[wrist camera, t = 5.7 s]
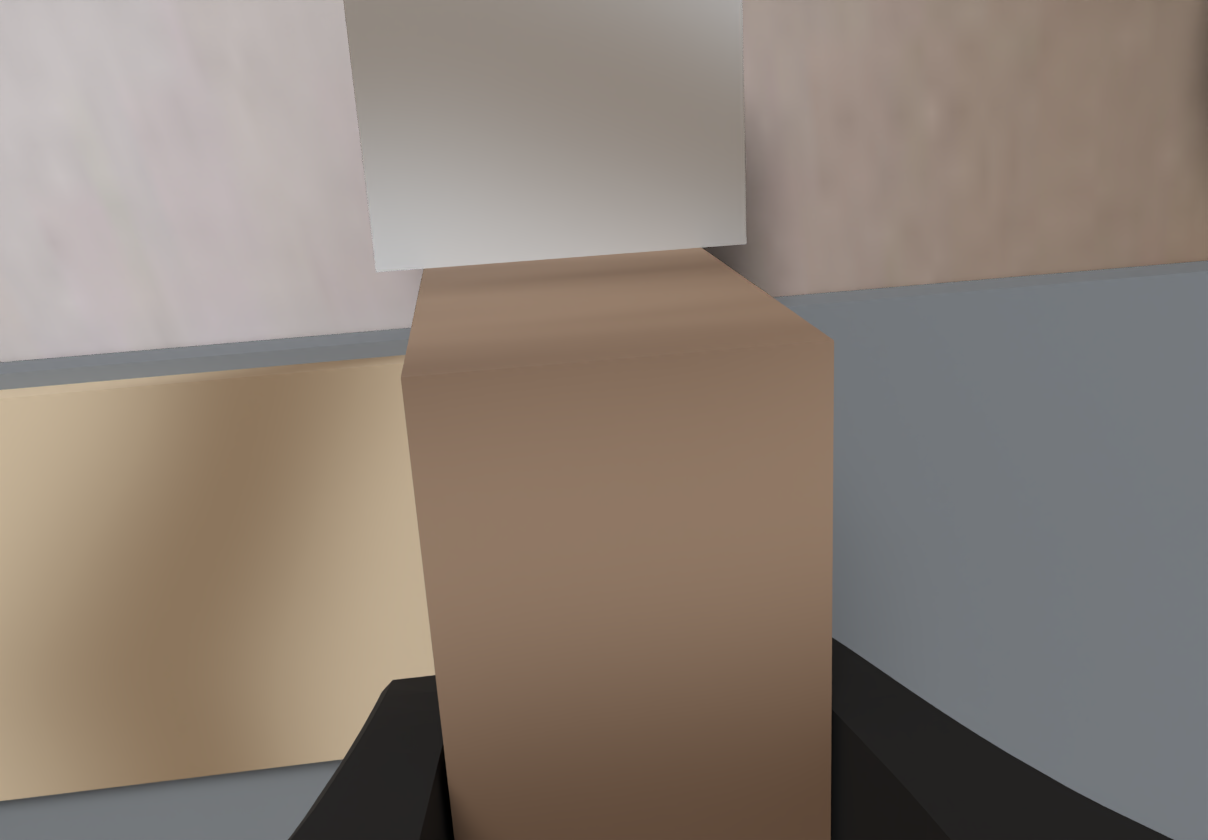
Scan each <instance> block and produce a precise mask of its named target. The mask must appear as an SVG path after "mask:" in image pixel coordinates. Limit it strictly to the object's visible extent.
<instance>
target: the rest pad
mask: <svg viewBox="0 0 1208 840" xmlns="http://www.w3.org/2000/svg"><path fill="white" fill-rule="evenodd" d="M404 359H405V355H398V356H387V357H375V358H364V359H352V360H341V361H329V362H317V363H306V364H294V365H283V366H271V367H260V368H248V369H237V370H225V371H214V372H202V373H191V374H179V375H167V376H156V377H144V378H133V379H121V380H110V381H98V382H87V383H75V384H64V385H52V386H41V387H29V388H17V389H6V390H0V801H5V800H14V799H22V798H30V797H38V796H46V795H54V794H63V793H71V792H79V791H87V790H95V789H104V788H112V787H120V786H128V785H136V784H145V783H153V782H161V781H169V780H177V779H185V778H194V777H202V776H210V775H218V774H226V773H235V772H243V771H251V770H259V769H267V768H276V767H284V766H292V765H300V764H308V763H316V762H325V761H333V760H341V759H344V757H345V755H346V754H347V752H348V750H349V749H350V747H351V746H352V744H353V742H354V741H355V739H356V737H357V736H358V734H359V732H360V731H361V729H362V727H363V725H364V724H365V722H366V720H367V718H368V717H369V715H370V713H371V711H372V709H373V708H374V706H375V704H376V702H377V700H378V698H379V696H380V694H381V692H382V691H383V690H384V689H385V688H386V687H387V685H388V684H389V683H390V682H391V681H392V680H396V679H405V678H414V677H423V676H432V675H435V668H434V659H433V651H432V642H431V633H430V625H429V616H428V608H427V599H426V590H425V582H424V573H423V565H422V556H421V548H420V539H419V530H418V522H417V513H416V505H415V496H414V488H413V479H412V470H411V462H410V453H409V445H408V436H407V428H406V419H405V410H404V402H403V393H402V385H401V373H402V369H403V364H404Z"/></svg>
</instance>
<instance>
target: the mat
mask: <svg viewBox="0 0 1208 840" xmlns="http://www.w3.org/2000/svg"><path fill="white" fill-rule="evenodd" d="M773 298H774V299H776V300H777V301H779V302H780V303H781V304H783V305H784V306H786V307H787V308H789V309H790V310H791V311H793V312H794V313H796V314H797V315H799V316H800V317H801V318H803V319H804V320H806V321H807V322H809V323H810V324H811V325H813V326H814V327H816V328H817V329H819V330H820V331H821V332H823V333H824V334H826V335H827V336H829V337H830V338H831V339H833V340H834V427H833V571H832V638H834V639H836V640H837V641H839V642H840V643H842V644H843V645H845V646H846V647H848V648H849V649H851V650H852V651H854V652H855V653H857V654H858V655H860V656H861V657H863V658H864V659H865V660H867V661H868V662H870V663H871V664H873V665H874V666H876V667H877V668H878V669H880V670H881V671H883V672H884V673H886V674H887V675H889V676H890V677H892V678H893V679H894V680H896V681H897V682H899V683H900V684H902V685H903V686H905V687H906V688H908V689H909V690H911V691H912V692H913V693H915V694H916V695H918V696H919V697H921V698H922V699H924V700H925V701H927V702H928V703H930V704H931V705H933V706H934V707H936V708H937V709H939V710H940V711H942V712H944V713H945V714H947V715H948V716H950V717H951V718H953V719H954V720H956V721H957V722H959V723H960V724H962V725H964V726H965V727H967V728H968V729H970V730H971V731H973V732H975V733H976V734H978V735H979V736H981V737H983V738H984V739H986V740H988V741H989V742H991V743H992V744H994V745H996V746H997V747H999V748H1001V749H1002V750H1004V751H1006V752H1007V753H1009V754H1011V755H1012V756H1014V757H1016V758H1018V759H1019V760H1021V761H1023V762H1025V763H1026V764H1028V765H1030V766H1032V767H1033V768H1035V769H1037V770H1039V771H1040V772H1042V773H1044V774H1046V775H1047V776H1049V777H1051V778H1053V779H1054V780H1056V781H1058V782H1060V783H1061V784H1063V785H1065V786H1067V787H1068V788H1070V789H1072V790H1074V791H1076V792H1078V793H1080V794H1082V795H1084V796H1085V797H1087V798H1089V799H1091V800H1093V801H1095V802H1097V803H1099V804H1101V805H1103V806H1105V807H1107V808H1109V809H1111V810H1113V811H1115V812H1117V813H1119V814H1121V815H1123V816H1126V817H1128V818H1130V819H1132V820H1134V821H1136V822H1138V823H1140V824H1142V825H1144V826H1146V827H1148V828H1151V829H1153V830H1155V831H1157V832H1159V833H1161V834H1163V835H1165V836H1167V837H1169V838H1171V839H1174V840H1208V261H1198V262H1186V263H1175V264H1163V265H1151V266H1139V267H1127V268H1115V269H1103V270H1092V271H1080V272H1068V273H1056V274H1044V275H1032V276H1020V277H1008V278H997V279H985V280H973V281H961V282H949V283H937V284H925V285H914V286H902V287H890V288H878V289H866V290H854V291H842V292H830V293H819V294H807V295H795V296H783V297H773ZM410 331H411V328H403V329H391V330H380V331H368V332H356V333H344V334H332V335H320V336H308V337H297V338H285V339H273V340H261V341H249V342H237V343H225V344H213V345H202V346H190V347H178V348H166V349H154V350H142V351H130V352H119V353H107V354H95V355H83V356H71V357H59V358H47V359H35V360H24V361H12V362H0V390H6V389H17V388H29V387H41V386H52V385H64V384H75V383H87V382H98V381H110V380H121V379H133V378H144V377H156V376H167V375H179V374H191V373H202V372H214V371H225V370H237V369H248V368H260V367H271V366H283V365H294V364H306V363H317V362H329V361H341V360H352V359H364V358H375V357H387V356H398V355H406V350H407V345H408V340H409V336H410ZM342 760H343V759H341V760H333V761H325V762H316V763H308V764H300V765H292V766H284V767H276V768H267V769H259V770H251V771H243V772H235V773H226V774H218V775H210V776H202V777H194V778H185V779H177V780H169V781H161V782H153V783H145V784H136V785H128V786H120V787H112V788H104V789H95V790H87V791H79V792H71V793H63V794H54V795H46V796H38V797H30V798H22V799H14V800H5V801H0V840H288V839H289V838H290V836H291V835H292V834H293V832H294V831H295V830H296V828H297V827H298V826H299V824H300V823H301V821H302V820H303V819H304V817H305V816H306V814H307V813H308V811H309V810H310V808H311V807H312V805H313V804H314V802H315V801H316V799H317V798H318V796H319V795H320V793H321V792H322V790H323V789H324V787H325V786H326V784H327V783H328V782H329V780H330V779H331V777H332V776H333V774H334V773H335V771H336V770H337V768H338V767H339V765H340V763H341V762H342Z"/></svg>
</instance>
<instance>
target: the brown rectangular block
mask: <svg viewBox="0 0 1208 840" xmlns="http://www.w3.org/2000/svg"><path fill="white" fill-rule="evenodd" d="M343 1H344V10H345V18H346V26H347V35H348V43H349V51H350V60H351V68H352V76H353V85H354V93H355V101H356V110H357V118H358V126H359V135H360V143H361V151H362V160H363V168H364V176H365V185H366V193H367V201H368V210H369V218H370V226H371V235H372V243H373V251H374V260H375V268H376V272H386V271H399V270H413V269H424V270H423V274H422V279H421V284H420V289H419V293H418V298H417V303H416V307H415V312H414V317H413V322H412V326H411V331H410V336H409V340H408V345H407V350H406V355H405V359H404V364H403V369H402V373H401V385H402V393H403V402H404V410H405V419H406V428H407V436H408V445H409V453H410V462H411V470H412V479H413V488H414V496H415V505H416V513H417V522H418V530H419V539H420V548H421V556H422V565H423V573H424V582H425V590H426V599H427V608H428V616H429V625H430V633H431V642H432V651H433V659H434V668H435V676H436V685H437V693H438V702H439V711H440V719H441V728H442V736H443V745H444V753H445V762H446V771H447V779H448V788H449V796H450V805H451V814H452V822H453V831H454V839H455V840H831V715H832V571H833V427H834V340H833V339H831V338H830V337H829V336H827V335H826V334H824V333H823V332H821V331H820V330H819V329H817V328H816V327H814V326H813V325H811V324H810V323H809V322H807V321H806V320H804V319H803V318H801V317H800V316H799V315H797V314H796V313H794V312H793V311H791V310H790V309H789V308H787V307H786V306H784V305H783V304H781V303H780V302H779V301H777V300H776V299H774V298H773V297H771V296H770V295H769V294H767V293H766V292H764V291H763V290H761V289H760V288H759V287H757V286H756V285H754V284H753V283H751V282H750V281H749V280H747V279H746V278H744V277H743V276H741V275H740V274H739V273H737V272H736V271H734V270H733V269H731V268H730V267H729V266H727V265H726V264H724V263H723V262H721V261H720V260H719V259H717V258H716V257H714V256H713V255H711V254H710V253H709V252H707V251H706V250H704V249H703V248H702V247H715V246H729V245H742V244H747V243H746V185H745V127H744V70H743V12H742V0H343Z"/></svg>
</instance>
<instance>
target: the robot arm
mask: <svg viewBox="0 0 1208 840" xmlns="http://www.w3.org/2000/svg"><path fill="white" fill-rule="evenodd" d="M288 840H455V839H454V831H453V822H452V814H451V805H450V796H449V788H448V779H447V771H446V762H445V753H444V745H443V736H442V728H441V719H440V711H439V702H438V693H437V685H436V676H435V675H432V676H423V677H414V678H405V679H396V680H392V681H391V682H390V683H389V684H388V685H387V687H386V688H385V689H384V690H383V691H382V692H381V694H380V696H379V698H378V700H377V702H376V704H375V706H374V708H373V709H372V711H371V713H370V715H369V717H368V718H367V720H366V722H365V724H364V725H363V727H362V729H361V731H360V732H359V734H358V736H357V737H356V739H355V741H354V742H353V744H352V746H351V747H350V749H349V750H348V752H347V754H346V755H345V757H344V759H343V760H342V762H341V763H340V765H339V767H338V768H337V770H336V771H335V773H334V774H333V776H332V777H331V779H330V780H329V782H328V783H327V784H326V786H325V787H324V789H323V790H322V792H321V793H320V795H319V796H318V798H317V799H316V801H315V802H314V804H313V805H312V807H311V808H310V810H309V811H308V813H307V814H306V816H305V817H304V819H303V820H302V821H301V823H300V824H299V826H298V827H297V828H296V830H295V831H294V832H293V834H292V835H291V836H290V838H289V839H288ZM831 840H1174V839H1171V838H1169V837H1167V836H1165V835H1163V834H1161V833H1159V832H1157V831H1155V830H1153V829H1151V828H1148V827H1146V826H1144V825H1142V824H1140V823H1138V822H1136V821H1134V820H1132V819H1130V818H1128V817H1126V816H1123V815H1121V814H1119V813H1117V812H1115V811H1113V810H1111V809H1109V808H1107V807H1105V806H1103V805H1101V804H1099V803H1097V802H1095V801H1093V800H1091V799H1089V798H1087V797H1085V796H1084V795H1082V794H1080V793H1078V792H1076V791H1074V790H1072V789H1070V788H1068V787H1067V786H1065V785H1063V784H1061V783H1060V782H1058V781H1056V780H1054V779H1053V778H1051V777H1049V776H1047V775H1046V774H1044V773H1042V772H1040V771H1039V770H1037V769H1035V768H1033V767H1032V766H1030V765H1028V764H1026V763H1025V762H1023V761H1021V760H1019V759H1018V758H1016V757H1014V756H1012V755H1011V754H1009V753H1007V752H1006V751H1004V750H1002V749H1001V748H999V747H997V746H996V745H994V744H992V743H991V742H989V741H988V740H986V739H984V738H983V737H981V736H979V735H978V734H976V733H975V732H973V731H971V730H970V729H968V728H967V727H965V726H964V725H962V724H960V723H959V722H957V721H956V720H954V719H953V718H951V717H950V716H948V715H947V714H945V713H944V712H942V711H940V710H939V709H937V708H936V707H934V706H933V705H931V704H930V703H928V702H927V701H925V700H924V699H922V698H921V697H919V696H918V695H916V694H915V693H913V692H912V691H911V690H909V689H908V688H906V687H905V686H903V685H902V684H900V683H899V682H897V681H896V680H894V679H893V678H892V677H890V676H889V675H887V674H886V673H884V672H883V671H881V670H880V669H878V668H877V667H876V666H874V665H873V664H871V663H870V662H868V661H867V660H865V659H864V658H863V657H861V656H860V655H858V654H857V653H855V652H854V651H852V650H851V649H849V648H848V647H846V646H845V645H843V644H842V643H840V642H839V641H837V640H836V639H834V638H832V715H831Z"/></svg>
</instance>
